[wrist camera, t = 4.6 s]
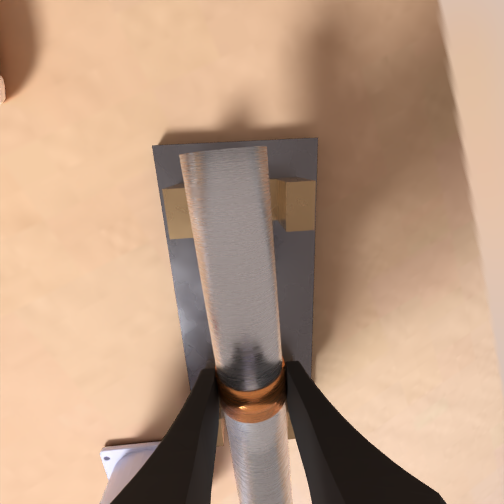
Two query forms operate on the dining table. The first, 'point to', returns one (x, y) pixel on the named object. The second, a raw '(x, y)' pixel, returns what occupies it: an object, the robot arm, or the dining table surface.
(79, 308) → the dining table surface
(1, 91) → the unicorn horn
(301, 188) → the grey tube holder
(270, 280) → the tube
